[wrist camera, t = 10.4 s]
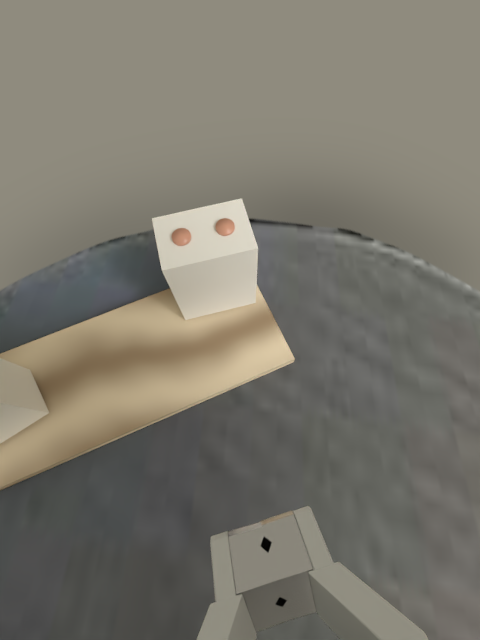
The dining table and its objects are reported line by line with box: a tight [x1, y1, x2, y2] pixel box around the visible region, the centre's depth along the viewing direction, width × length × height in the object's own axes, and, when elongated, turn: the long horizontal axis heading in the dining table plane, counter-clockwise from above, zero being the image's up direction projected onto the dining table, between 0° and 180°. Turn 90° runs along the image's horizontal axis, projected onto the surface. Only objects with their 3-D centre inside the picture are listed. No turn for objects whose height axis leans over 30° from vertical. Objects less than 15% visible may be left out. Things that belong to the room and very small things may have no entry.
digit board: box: [0, 285, 295, 490], centre depth 27 cm, size 10×26×1 cm, turn 113°
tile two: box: [152, 199, 258, 320], centre depth 25 cm, size 4×6×8 cm
